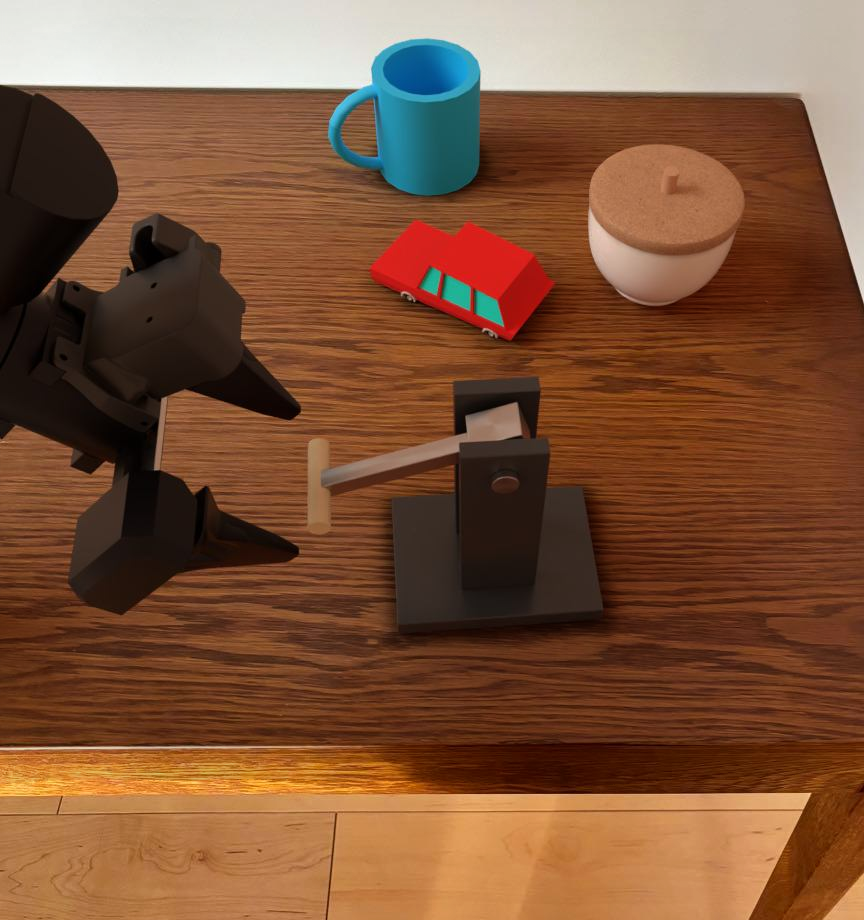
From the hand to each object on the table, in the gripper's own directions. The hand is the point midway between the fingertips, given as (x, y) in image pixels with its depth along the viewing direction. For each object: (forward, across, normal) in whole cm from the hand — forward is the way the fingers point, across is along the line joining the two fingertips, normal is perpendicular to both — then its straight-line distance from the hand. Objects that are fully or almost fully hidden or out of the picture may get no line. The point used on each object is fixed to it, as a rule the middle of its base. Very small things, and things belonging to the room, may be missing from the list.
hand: (295, 481), depth 53 cm
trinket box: (+24, +24, -11) cm, 36 cm away
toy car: (+14, +24, -1) cm, 28 cm away
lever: (+5, 0, -5) cm, 7 cm away
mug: (+12, +38, +2) cm, 40 cm away
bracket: (+14, 0, -1) cm, 14 cm away
